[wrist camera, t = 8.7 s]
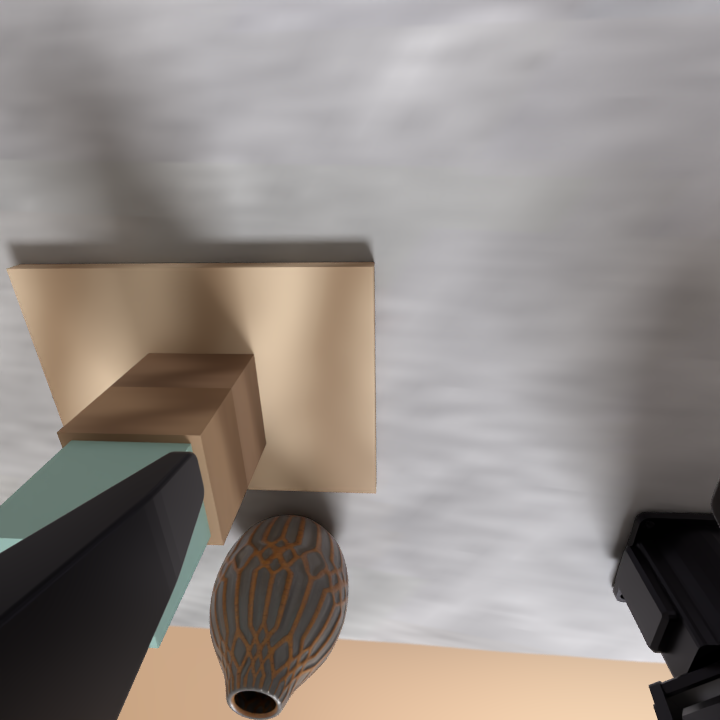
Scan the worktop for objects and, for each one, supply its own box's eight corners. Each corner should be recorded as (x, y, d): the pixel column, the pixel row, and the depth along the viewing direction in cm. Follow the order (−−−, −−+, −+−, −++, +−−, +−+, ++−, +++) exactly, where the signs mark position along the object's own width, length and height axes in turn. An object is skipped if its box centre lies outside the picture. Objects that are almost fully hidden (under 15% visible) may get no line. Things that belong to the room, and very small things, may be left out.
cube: (190, 443, 15) (123, 543, 11) (210, 535, 17) (158, 648, 13) (71, 440, 16) (-33, 536, 12) (103, 531, 17) (22, 639, 14)
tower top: (231, 388, 18) (200, 435, 15) (248, 487, 20) (223, 545, 17) (110, 386, 18) (56, 432, 15) (138, 483, 20) (97, 540, 18)
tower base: (254, 354, 21) (231, 388, 18) (266, 444, 23) (248, 487, 20) (148, 353, 21) (110, 386, 18) (170, 441, 23) (138, 483, 20)
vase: (313, 478, 25) (276, 635, 17) (374, 560, 27) (366, 731, 19) (214, 519, 27) (138, 678, 19) (279, 592, 29) (236, 760, 21)
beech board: (374, 262, 19) (373, 266, 19) (376, 483, 25) (375, 493, 24) (19, 264, 21) (6, 268, 20) (93, 475, 26) (84, 484, 25)
